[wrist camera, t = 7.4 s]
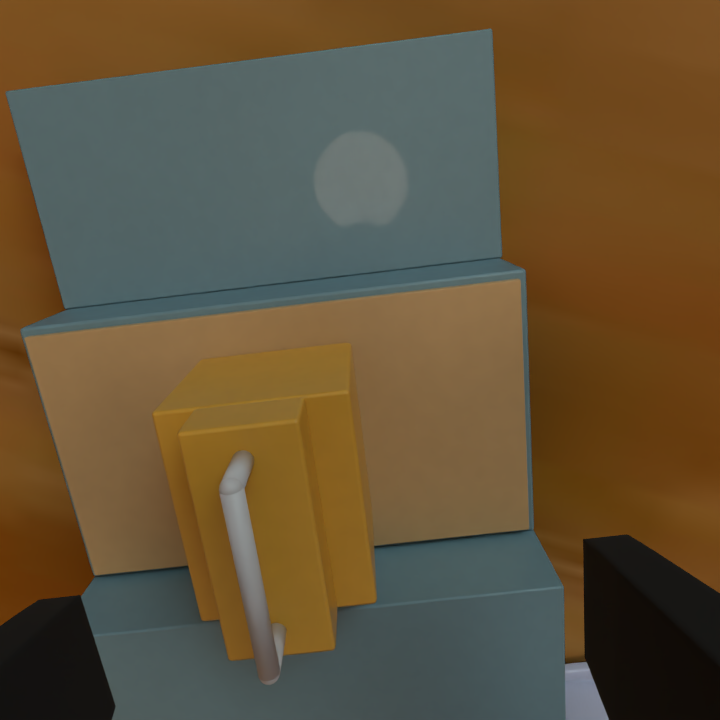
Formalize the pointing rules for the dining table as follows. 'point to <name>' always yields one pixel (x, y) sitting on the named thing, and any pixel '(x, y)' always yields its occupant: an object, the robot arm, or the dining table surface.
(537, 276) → the dining table surface
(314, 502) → the block with handle
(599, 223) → the dining table surface
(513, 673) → the step rack
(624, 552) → the robot arm
